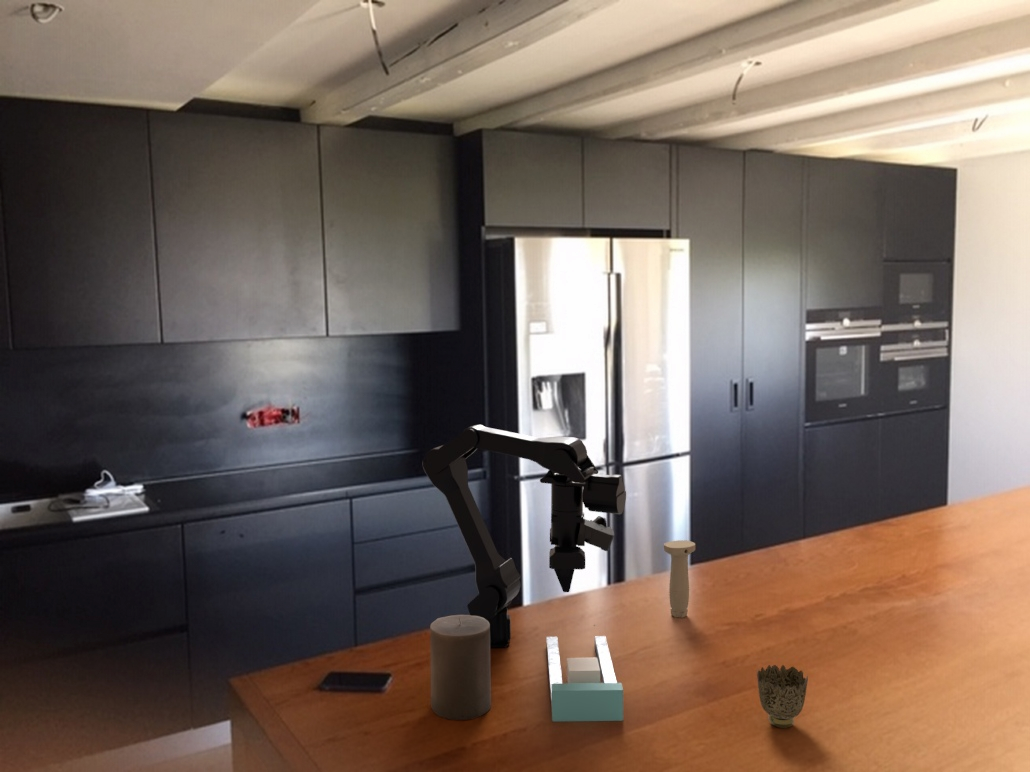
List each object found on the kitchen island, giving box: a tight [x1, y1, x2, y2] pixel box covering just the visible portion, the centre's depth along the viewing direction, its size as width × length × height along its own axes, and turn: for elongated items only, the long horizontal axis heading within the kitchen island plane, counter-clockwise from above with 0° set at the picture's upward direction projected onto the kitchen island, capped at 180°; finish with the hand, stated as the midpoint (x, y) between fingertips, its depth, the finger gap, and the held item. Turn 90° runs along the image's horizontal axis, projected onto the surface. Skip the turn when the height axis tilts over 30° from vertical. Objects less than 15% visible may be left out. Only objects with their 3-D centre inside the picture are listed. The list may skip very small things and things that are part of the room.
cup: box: [756, 664, 809, 729], centre depth 136 cm, size 8×7×8 cm
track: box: [546, 635, 624, 722], centre depth 152 cm, size 11×28×5 cm, turn 0°
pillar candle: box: [429, 614, 492, 721], centre depth 143 cm, size 10×10×15 cm
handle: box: [663, 539, 696, 619], centre depth 180 cm, size 5×6×15 cm
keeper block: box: [566, 656, 601, 683], centre depth 145 cm, size 5×5×6 cm
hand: (566, 591), depth 162 cm, fingers closed
